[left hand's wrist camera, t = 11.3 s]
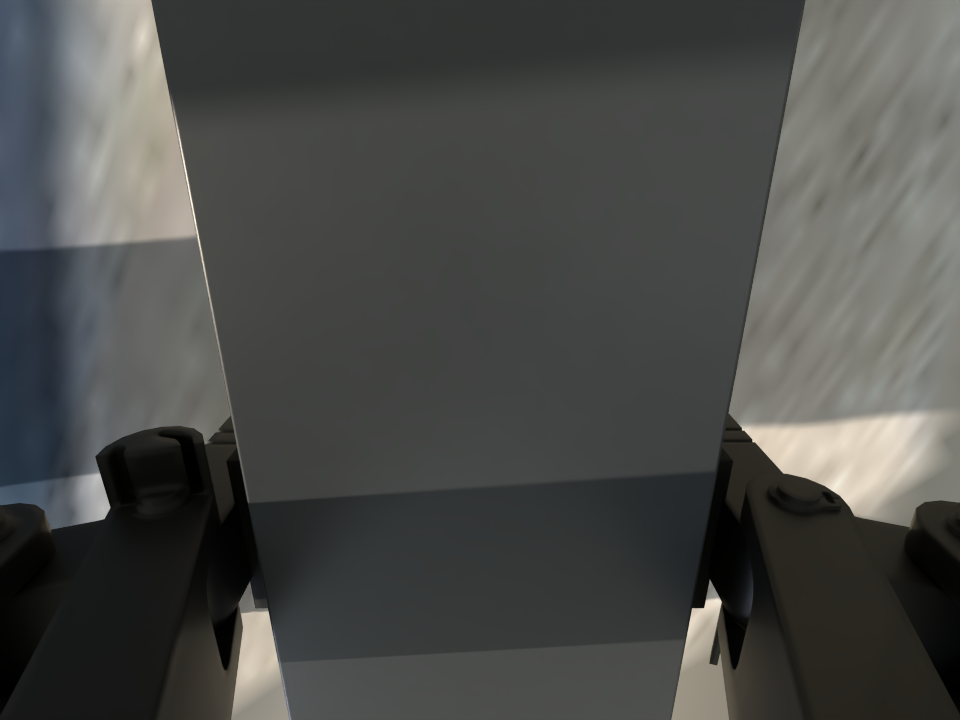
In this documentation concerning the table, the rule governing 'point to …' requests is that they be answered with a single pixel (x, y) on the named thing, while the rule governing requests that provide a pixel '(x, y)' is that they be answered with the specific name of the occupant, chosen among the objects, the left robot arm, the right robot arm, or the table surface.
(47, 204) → the table surface
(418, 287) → the post
